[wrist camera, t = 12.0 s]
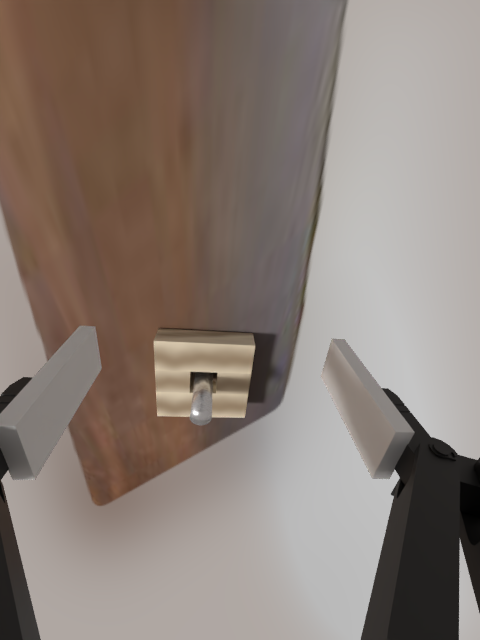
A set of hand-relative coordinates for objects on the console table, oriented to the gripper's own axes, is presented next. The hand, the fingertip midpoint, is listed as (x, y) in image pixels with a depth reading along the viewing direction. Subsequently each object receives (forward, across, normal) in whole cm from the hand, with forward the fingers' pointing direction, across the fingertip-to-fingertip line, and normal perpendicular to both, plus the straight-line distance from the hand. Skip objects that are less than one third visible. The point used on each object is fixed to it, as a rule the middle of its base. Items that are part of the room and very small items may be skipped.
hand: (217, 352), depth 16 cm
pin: (+28, -1, -23) cm, 36 cm away
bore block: (+29, -1, -23) cm, 37 cm away
